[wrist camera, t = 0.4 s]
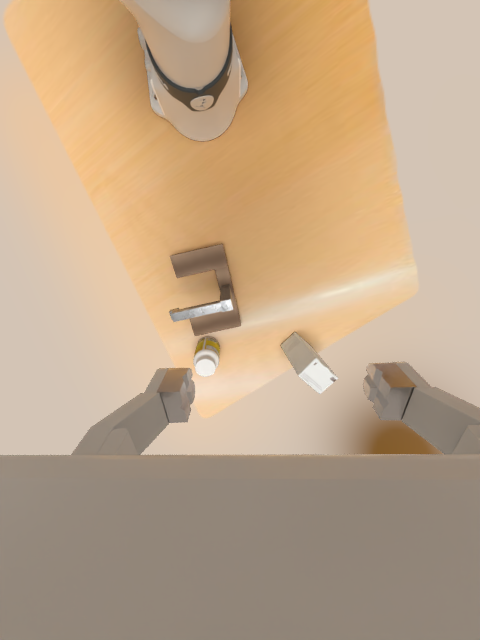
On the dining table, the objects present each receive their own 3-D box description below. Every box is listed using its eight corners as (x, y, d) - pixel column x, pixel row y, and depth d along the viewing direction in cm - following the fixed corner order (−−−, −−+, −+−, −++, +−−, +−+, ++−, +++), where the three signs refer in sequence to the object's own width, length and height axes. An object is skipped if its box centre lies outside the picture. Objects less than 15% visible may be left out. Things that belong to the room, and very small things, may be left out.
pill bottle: (200, 358, 63) (195, 382, 53) (194, 338, 61) (188, 359, 51) (222, 354, 63) (221, 377, 53) (217, 334, 61) (215, 353, 51)
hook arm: (183, 292, 57) (166, 313, 41) (229, 281, 56) (230, 299, 40) (185, 299, 57) (170, 323, 41) (231, 289, 57) (233, 309, 41)
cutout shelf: (172, 255, 53) (169, 256, 51) (222, 243, 53) (222, 244, 50) (196, 331, 60) (194, 336, 58) (240, 321, 60) (241, 325, 57)
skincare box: (279, 344, 63) (294, 375, 49) (295, 330, 62) (315, 357, 48) (299, 362, 66) (319, 396, 52) (315, 348, 64) (340, 379, 50)
